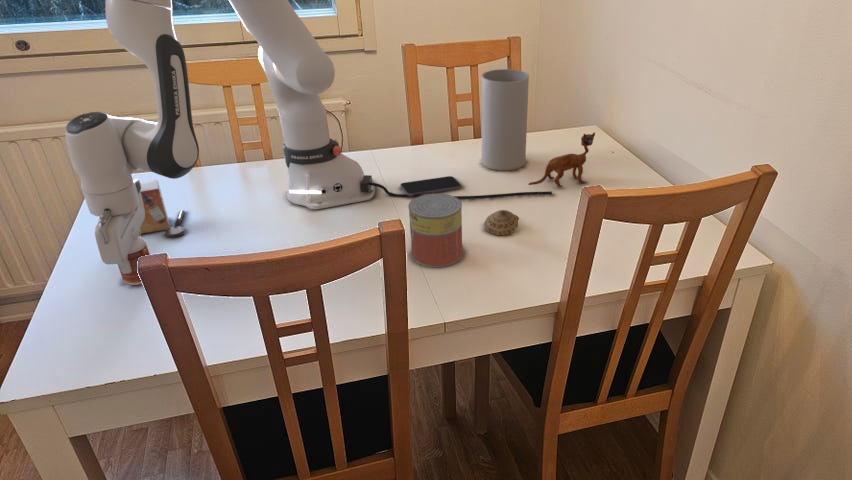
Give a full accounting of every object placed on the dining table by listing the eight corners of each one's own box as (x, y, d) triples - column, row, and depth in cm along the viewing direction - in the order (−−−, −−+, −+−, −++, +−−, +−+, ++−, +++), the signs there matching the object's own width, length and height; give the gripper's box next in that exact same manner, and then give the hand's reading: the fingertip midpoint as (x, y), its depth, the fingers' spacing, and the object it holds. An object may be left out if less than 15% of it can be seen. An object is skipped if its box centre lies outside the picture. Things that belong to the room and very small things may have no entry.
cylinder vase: (526, 172, 180) (530, 82, 167) (481, 171, 180) (481, 82, 167) (524, 154, 190) (527, 69, 177) (482, 154, 191) (482, 69, 177)
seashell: (524, 211, 155) (516, 213, 147) (520, 234, 156) (512, 237, 148) (491, 206, 157) (482, 208, 149) (488, 229, 158) (479, 232, 150)
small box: (133, 236, 149) (119, 194, 144) (132, 225, 153) (119, 185, 148) (170, 229, 152) (158, 188, 146) (169, 219, 156) (157, 179, 151)
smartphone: (462, 186, 170) (408, 194, 165) (462, 189, 171) (408, 198, 166) (452, 175, 176) (399, 183, 171) (452, 179, 177) (399, 187, 171)
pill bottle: (158, 280, 133) (143, 233, 127) (126, 289, 130) (109, 241, 125) (152, 267, 138) (138, 221, 132) (121, 275, 135) (104, 229, 129)
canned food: (414, 240, 147) (411, 193, 141) (464, 241, 147) (463, 193, 141) (408, 266, 138) (405, 216, 131) (461, 267, 137) (460, 217, 131)
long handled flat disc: (174, 213, 159) (173, 209, 158) (191, 211, 160) (190, 208, 159) (164, 238, 148) (163, 235, 148) (183, 237, 149) (182, 233, 148)
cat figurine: (533, 193, 168) (535, 143, 161) (523, 183, 173) (525, 134, 166) (594, 183, 173) (599, 135, 166) (583, 174, 178) (587, 126, 171)
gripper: (117, 222, 116) (138, 285, 124) (141, 176, 133) (159, 235, 141) (78, 225, 115) (102, 289, 123) (108, 179, 132) (127, 238, 140)
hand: (133, 260), depth 132 cm, fingers open, 8 cm apart
